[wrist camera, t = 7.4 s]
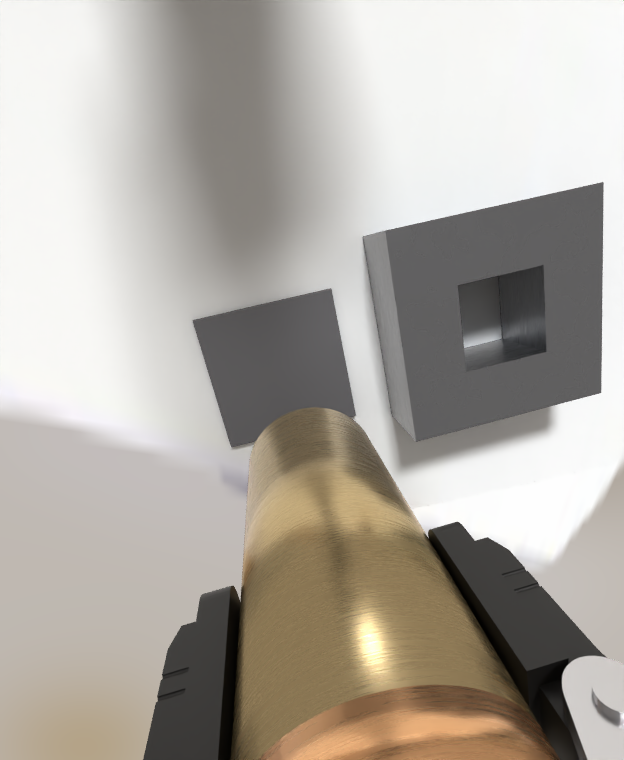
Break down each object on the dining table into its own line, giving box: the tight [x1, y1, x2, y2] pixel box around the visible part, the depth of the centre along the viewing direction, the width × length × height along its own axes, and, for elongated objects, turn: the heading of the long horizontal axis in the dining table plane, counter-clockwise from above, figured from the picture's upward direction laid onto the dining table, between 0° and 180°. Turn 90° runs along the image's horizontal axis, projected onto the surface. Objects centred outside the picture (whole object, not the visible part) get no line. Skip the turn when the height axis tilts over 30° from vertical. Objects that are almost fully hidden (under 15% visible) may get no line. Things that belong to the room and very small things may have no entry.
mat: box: [193, 289, 356, 447], centre depth 30 cm, size 10×10×1 cm
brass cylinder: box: [231, 407, 560, 760], centre depth 10 cm, size 5×5×11 cm
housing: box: [363, 182, 603, 442], centre depth 28 cm, size 14×14×5 cm
